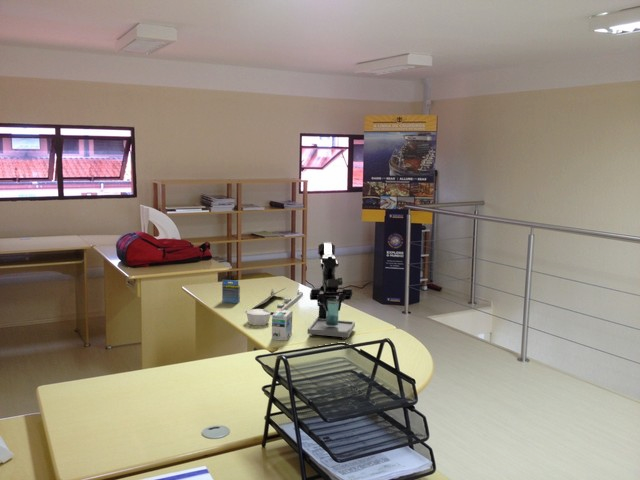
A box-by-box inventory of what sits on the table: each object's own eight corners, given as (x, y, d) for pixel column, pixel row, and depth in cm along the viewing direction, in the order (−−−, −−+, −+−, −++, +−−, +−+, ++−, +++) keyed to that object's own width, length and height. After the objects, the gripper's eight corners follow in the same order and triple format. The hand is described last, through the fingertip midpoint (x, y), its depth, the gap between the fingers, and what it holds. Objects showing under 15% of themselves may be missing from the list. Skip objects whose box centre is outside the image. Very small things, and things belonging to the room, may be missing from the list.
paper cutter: (302, 296, 337) (303, 286, 336) (278, 316, 294) (278, 305, 293) (272, 293, 341) (272, 284, 341) (244, 313, 298) (244, 302, 298)
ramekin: (275, 323, 281) (275, 312, 280) (255, 327, 274) (255, 316, 273) (261, 318, 289) (261, 307, 289) (241, 321, 282) (242, 310, 281)
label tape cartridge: (240, 301, 319) (240, 278, 318) (238, 303, 315) (238, 280, 314) (223, 300, 320) (224, 278, 318) (221, 302, 316) (222, 279, 315)
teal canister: (323, 324, 267) (324, 300, 266) (330, 321, 272) (331, 297, 270) (333, 326, 264) (334, 302, 262) (340, 324, 268) (341, 300, 267)
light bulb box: (286, 340, 256) (286, 316, 254) (271, 339, 257) (271, 315, 256) (292, 333, 266) (293, 310, 265) (277, 332, 268) (278, 308, 266)
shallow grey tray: (307, 337, 261) (307, 329, 261) (316, 326, 279) (316, 318, 278) (348, 341, 258) (348, 333, 257) (354, 329, 275) (354, 321, 275)
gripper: (311, 271, 266) (314, 301, 257) (352, 271, 270) (357, 301, 261) (308, 284, 275) (311, 314, 266) (348, 284, 279) (352, 313, 269)
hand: (333, 310), depth 265 cm, fingers closed on teal canister, 5 cm apart
